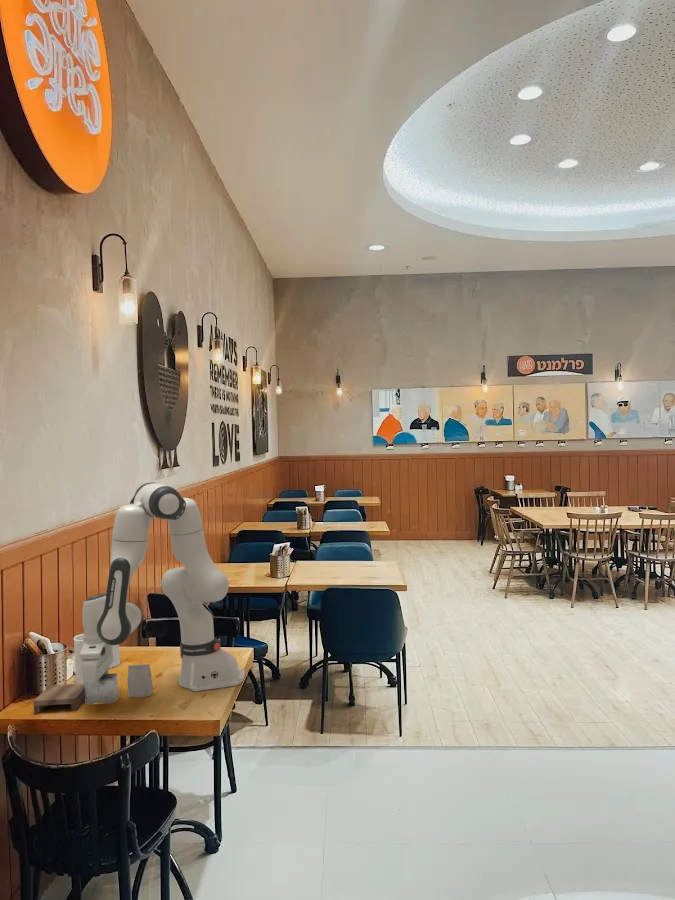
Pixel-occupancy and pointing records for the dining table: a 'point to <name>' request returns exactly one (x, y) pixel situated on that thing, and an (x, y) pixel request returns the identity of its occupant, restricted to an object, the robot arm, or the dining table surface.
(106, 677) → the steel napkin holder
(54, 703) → the walnut shelf
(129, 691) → the grey tapered block
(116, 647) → the jar
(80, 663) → the cup
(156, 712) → the dining table surface
